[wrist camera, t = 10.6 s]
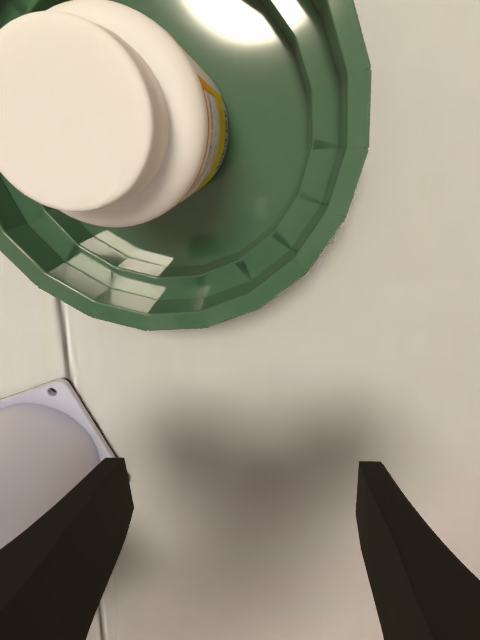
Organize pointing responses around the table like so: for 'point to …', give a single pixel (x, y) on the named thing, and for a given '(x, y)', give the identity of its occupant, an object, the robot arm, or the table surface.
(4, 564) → the robot arm
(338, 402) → the table surface
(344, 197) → the bowl
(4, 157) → the supplement bottle
